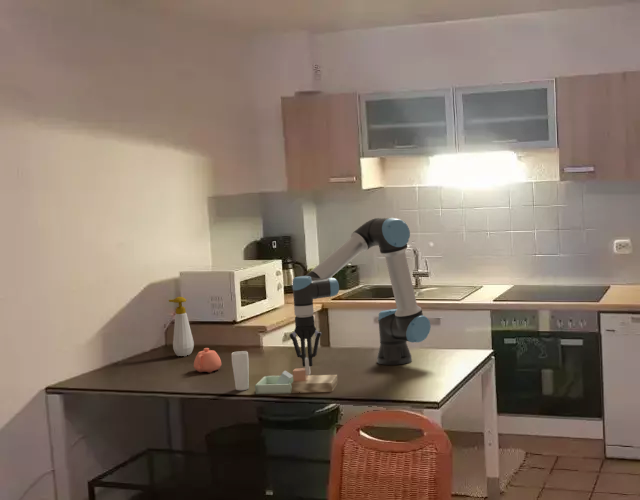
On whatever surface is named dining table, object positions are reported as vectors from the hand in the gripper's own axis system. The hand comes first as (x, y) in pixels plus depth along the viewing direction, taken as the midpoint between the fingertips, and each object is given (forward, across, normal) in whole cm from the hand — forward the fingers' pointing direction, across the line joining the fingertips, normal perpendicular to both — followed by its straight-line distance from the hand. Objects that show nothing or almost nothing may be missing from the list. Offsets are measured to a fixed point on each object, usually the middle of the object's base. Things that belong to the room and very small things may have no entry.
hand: (308, 374), depth 368 cm
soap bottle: (+6, +77, -74) cm, 107 cm away
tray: (+6, +13, 0) cm, 14 cm away
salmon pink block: (+2, +3, 0) cm, 4 cm away
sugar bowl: (+6, +53, -37) cm, 65 cm away
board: (+6, -2, 0) cm, 6 cm away
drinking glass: (+6, +28, -1) cm, 28 cm away
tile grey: (+3, +8, 0) cm, 9 cm away
